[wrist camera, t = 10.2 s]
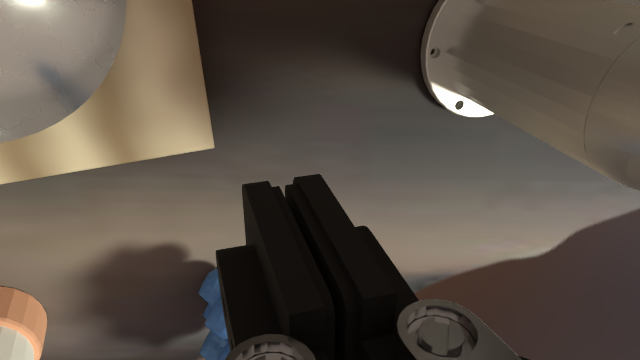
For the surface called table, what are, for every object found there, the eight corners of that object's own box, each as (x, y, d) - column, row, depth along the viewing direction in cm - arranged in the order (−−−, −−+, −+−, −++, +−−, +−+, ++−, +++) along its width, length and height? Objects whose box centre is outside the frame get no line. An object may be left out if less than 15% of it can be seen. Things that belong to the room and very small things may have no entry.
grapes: (270, 330, 48) (307, 440, 38) (200, 349, 46) (220, 470, 36) (261, 233, 42) (302, 333, 32) (181, 250, 41) (198, 361, 31)
